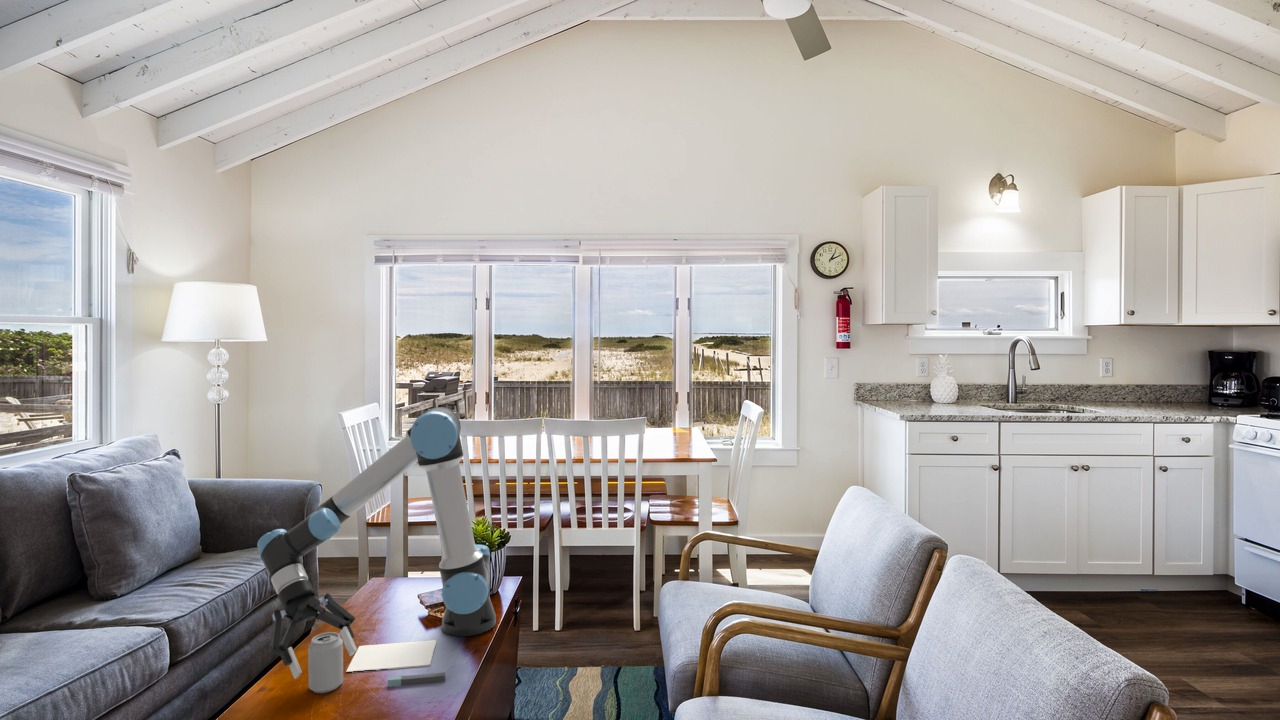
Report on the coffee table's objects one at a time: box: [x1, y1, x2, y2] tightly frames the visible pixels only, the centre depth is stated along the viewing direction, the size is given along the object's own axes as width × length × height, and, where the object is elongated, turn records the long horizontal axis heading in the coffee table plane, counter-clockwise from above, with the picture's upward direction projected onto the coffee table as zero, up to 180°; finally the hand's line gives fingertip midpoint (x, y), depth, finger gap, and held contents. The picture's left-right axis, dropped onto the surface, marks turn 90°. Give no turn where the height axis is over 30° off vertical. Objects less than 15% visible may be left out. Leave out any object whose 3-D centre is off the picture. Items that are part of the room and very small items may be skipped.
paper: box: [345, 639, 438, 673], centre depth 172 cm, size 20×14×1 cm
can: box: [307, 631, 344, 694], centre depth 157 cm, size 8×8×12 cm
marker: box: [387, 672, 446, 688], centre depth 159 cm, size 13×2×2 cm, turn 100°
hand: (327, 663), depth 156 cm, fingers open, 13 cm apart
